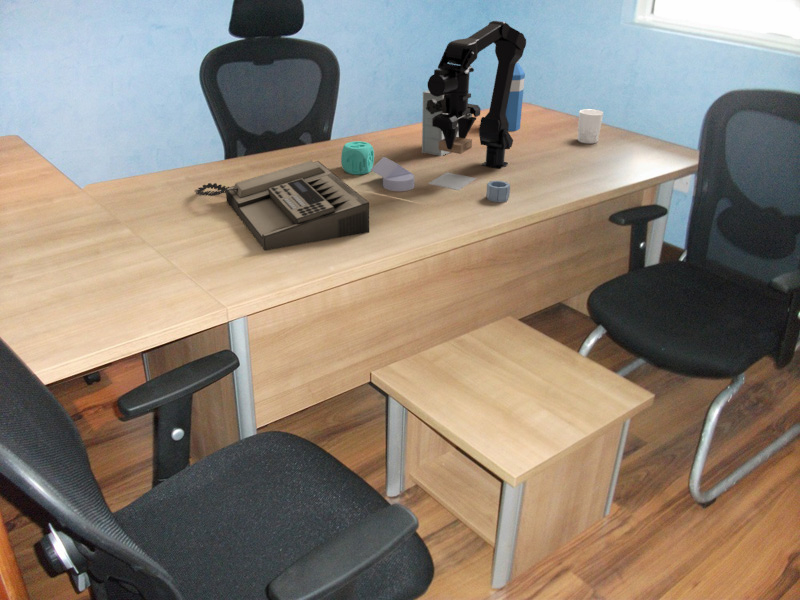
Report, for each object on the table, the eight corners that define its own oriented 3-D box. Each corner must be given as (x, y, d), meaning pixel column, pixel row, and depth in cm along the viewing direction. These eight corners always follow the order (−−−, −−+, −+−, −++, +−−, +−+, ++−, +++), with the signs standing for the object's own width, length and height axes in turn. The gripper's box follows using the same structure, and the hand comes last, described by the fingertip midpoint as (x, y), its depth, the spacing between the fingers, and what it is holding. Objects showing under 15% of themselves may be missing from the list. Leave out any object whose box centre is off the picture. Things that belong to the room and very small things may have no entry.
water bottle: (493, 130, 267) (498, 58, 255) (494, 123, 275) (499, 53, 263) (519, 132, 266) (526, 59, 254) (520, 125, 274) (526, 54, 262)
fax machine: (190, 195, 207) (186, 161, 203) (307, 178, 220) (306, 147, 216) (232, 258, 172) (228, 219, 167) (369, 233, 185) (369, 197, 180)
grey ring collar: (492, 194, 209) (493, 179, 207) (511, 198, 207) (513, 183, 205) (483, 201, 205) (484, 185, 203) (503, 205, 202) (504, 189, 200)
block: (449, 143, 217) (450, 135, 216) (471, 147, 214) (472, 139, 213) (438, 149, 212) (438, 141, 210) (460, 153, 208) (461, 145, 207)
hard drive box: (446, 142, 253) (449, 82, 244) (465, 146, 250) (469, 85, 240) (420, 153, 242) (422, 91, 233) (440, 157, 238) (442, 94, 229)
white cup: (601, 144, 254) (605, 115, 249) (578, 144, 254) (581, 114, 249) (596, 137, 260) (600, 109, 256) (573, 137, 260) (577, 108, 256)
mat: (446, 173, 225) (446, 172, 224) (476, 179, 220) (476, 178, 220) (427, 184, 216) (427, 183, 215) (458, 191, 211) (458, 190, 211)
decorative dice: (341, 173, 224) (340, 147, 220) (349, 165, 230) (348, 140, 227) (367, 176, 222) (366, 149, 218) (374, 167, 229) (374, 142, 225)
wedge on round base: (370, 181, 218) (392, 194, 208) (370, 158, 215) (393, 171, 205) (396, 176, 222) (420, 189, 212) (397, 154, 219) (420, 166, 209)
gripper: (447, 80, 216) (445, 133, 223) (415, 93, 201) (414, 149, 209) (482, 85, 211) (479, 139, 218) (452, 98, 196) (449, 156, 204)
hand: (455, 145), depth 212 cm, fingers closed on block, 7 cm apart
